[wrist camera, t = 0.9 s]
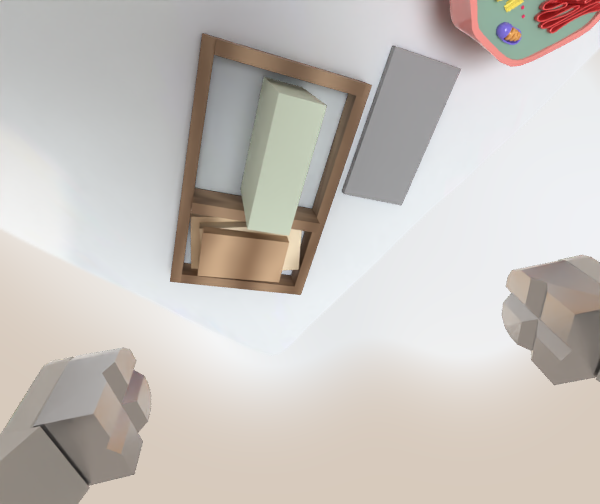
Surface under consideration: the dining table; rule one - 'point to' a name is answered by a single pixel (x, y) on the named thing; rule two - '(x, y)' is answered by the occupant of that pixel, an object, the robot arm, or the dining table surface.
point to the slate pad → (399, 126)
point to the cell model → (523, 25)
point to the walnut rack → (233, 204)
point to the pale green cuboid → (279, 155)
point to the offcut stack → (241, 250)
